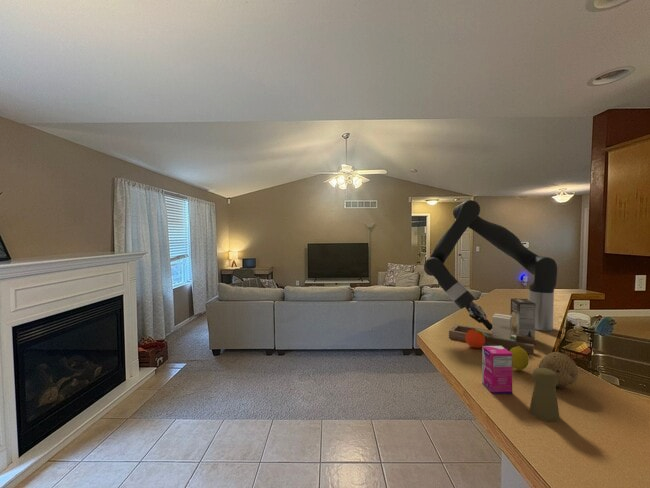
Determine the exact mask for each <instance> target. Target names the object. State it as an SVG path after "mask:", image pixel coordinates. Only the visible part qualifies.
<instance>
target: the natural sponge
mask: <svg viewBox="0 0 650 488" xmlns="http://www.w3.org/2000/svg"><path fill="white" fill-rule="evenodd" d="M538 368H546V369H550V370H552V371H554V372H555V373H556V374H557V376H558V378H559V380H558V384H557V385H556V388H559V389H561V388H565V387H567V386H571V385H572V384H573V383H575V382H576V380H577V379H578V377H579V368H578V366H577V364H576V362H575V361H574V360H573V358H571V357H570V356H569V355H567V354H565V353H562V352H559V351H553V352H550V353H547V354H546V355H545V356H543V358H542V359H541V360H540V363H539V364H538Z"/></svg>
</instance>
